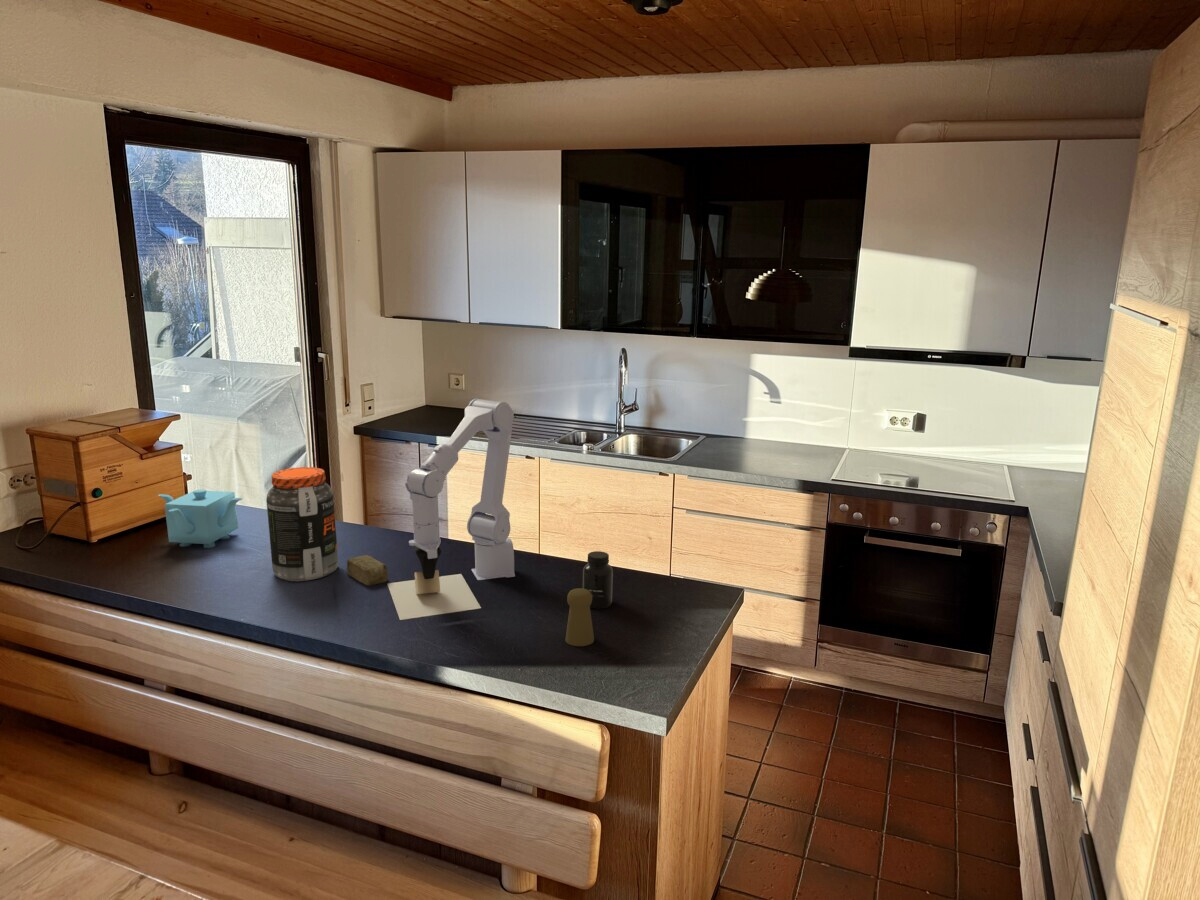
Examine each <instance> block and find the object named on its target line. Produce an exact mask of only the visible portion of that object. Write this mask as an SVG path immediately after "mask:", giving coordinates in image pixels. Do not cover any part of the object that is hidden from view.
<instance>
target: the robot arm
mask: <svg viewBox="0 0 1200 900" xmlns="http://www.w3.org/2000/svg"><path fill="white" fill-rule="evenodd" d="M514 414H515V412H514V410H513V409H512V407H511V406H510V404H509V403H508V402H506V401H497V400H489V399H481V398H473V399H472V400H470V401H469V404H468V405H467V406H466V407H465V408H464V417H463V419H462V420H460V422H459V424H458V426H457V427H456V429H455V430H454V432H453V433H452V434H451V436H450V437H449V439H448V440H447V441H446V443H444V444H443V443H441V444H438V445H436V446H434V448H433V451H432V452H431V454H429V456H428V457H427V459H425V461H424V462H423V463H422V464H421V466H420V467H418V468H416V469H413V470H412V471H410V472H409V474H408V476H407V478H406V482H405V483H404V485H405V489H406V491H407V492H408V493H409V499H410V500H411V506H412V507H411V508H412V522H413V523H412V524H413V527H412V528H413V539H409V541H408V545H409V547H414V548H413V551H414V552H415V554H416V556H417V558H418V561H419V565H420V568H421V572H422V573H423V576H424V579H431V578H434V574H435V570H437V569H436V567H437V563H438V560H439V558H440V555H441V554H442V550H441V548H440V544H441V542H442V541H441V538H440V516H439V513H440V512H439V494H441V492H442V490H443V488H444V484H445V483H444V482H445V480H446V477H447V475H448V474H449V472H450V471H451V470H453V468H454V466H455V465H456V464H457V462H458V461H459V453H460V451H461V450H462V449H463V448H464V447H465V446H466V445H467V444H468V443H469V442H470V441H471V440H472V438H473V437H474V436H475V435H476V434H477V433H478V432H483V433H484V434H485V436H486V438H487V439H488V442H487V448H486V455H485V464H484V471H483V478H482V479H483V480H482V484H481V485H482V486H481V492H480V501H479V502H478V503H476V504H475V505H473V506H472V507H471V512H470V516H469V518H468V520H467V524H466V528H467V529H466V530H467V533H468V534H469V536H471V540H472V541H474V563H475V564H474V566H475V567H474V568H471V571H472V573H473V575H474V577H475V578H476V580H477V581H483V580H491V579H498V578H514V577H516V574H515V552H514V551H515V550H514V544H513V540H512V539H511V538H509V536H510V534H511V522H510V517H511V516H510V515H511V513H510V511H509V510H508V509H507V508H506V506H505V505H504V504H503V499H504V493H505V492H504V491H505V486H506V476H507V472H508V471H507V470H508V464H509V456H510V455H509V454H510V448H511V442H512V433H513V432H512V431H513V430H512V429H513V423H514V422H513V421H514Z"/></svg>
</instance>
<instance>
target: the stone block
mask: <svg viewBox="0 0 1200 900" xmlns="http://www.w3.org/2000/svg"><path fill="white" fill-rule="evenodd" d="M346 564H347V566H346V567H347V568H346V573H347V574H348V576H349V577H351V578H353V579H355V580H356V581H358V582H359V583H362V584H363V585H365V586H369V587H371V586H374V585H377V584H381V583H386V582H387V581H388V579H389V578H388V567H387V565H386V564H385V563H383V562H381V561H379V560H377V559H375V558H374V557H373V556H371V555H369V554H364V555H360V556H355V557H351V558H348V559H347V561H346Z"/></svg>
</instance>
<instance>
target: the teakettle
mask: <svg viewBox="0 0 1200 900" xmlns="http://www.w3.org/2000/svg"><path fill="white" fill-rule="evenodd" d="M235 493H236V492H235V491H222V490H220V491H219V490H206V489H205V488H204V489H202V488H201V489H200V488H199V489H196V490H193V491H191V492H188V493H185V494H184V495H181V496H180V497H177V498H175V499H174V497H172V496H171V495H169V494H164V493H163V494H162V493H161V494H158V497H160V498H162V499H163V500H164V501H165V502H166V503H164V512H165V520H166V527H167V535H168V543H179V547H181V548H183V547H184V548H185V547H189V546H191V545H192V544H196V545H198V544H199V545H203V548H204V549H211V548H214V547H216V541H218V540H227V539H230V538H231V536H230V535H229V534H230V533H232V532H234V531H235V530H238V529H239V523H238V514H237V511H238V510H237V503H238V502H240V501H241V500H243V498H244V497H236V495H235Z"/></svg>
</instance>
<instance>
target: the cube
mask: <svg viewBox="0 0 1200 900" xmlns="http://www.w3.org/2000/svg"><path fill="white" fill-rule="evenodd" d="M413 574H414V575H413V576H414V580H415V587H416V594H424V593H433V592H440V581H439V577H440V572H439V569H435V574H434V578H431V579H424V576H423V573H422V571H415V572H414V573H413Z"/></svg>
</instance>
